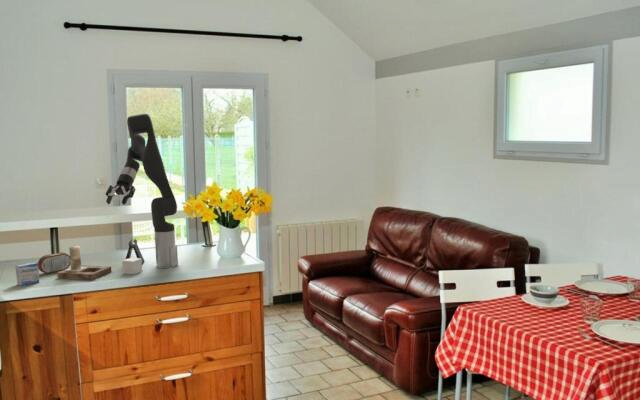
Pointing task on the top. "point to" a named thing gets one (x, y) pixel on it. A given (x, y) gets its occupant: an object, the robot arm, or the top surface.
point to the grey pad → (75, 270)
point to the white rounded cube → (132, 265)
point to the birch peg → (75, 257)
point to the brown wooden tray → (85, 273)
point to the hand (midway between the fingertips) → (115, 203)
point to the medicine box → (27, 273)
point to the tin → (54, 262)
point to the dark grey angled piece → (136, 249)
